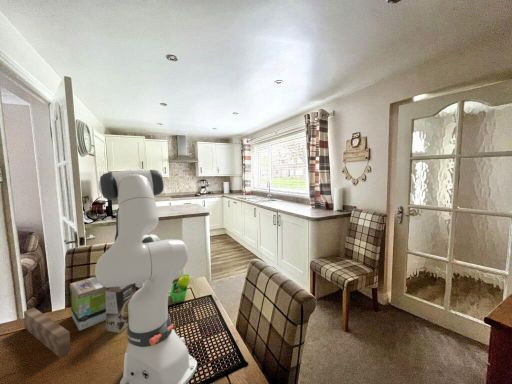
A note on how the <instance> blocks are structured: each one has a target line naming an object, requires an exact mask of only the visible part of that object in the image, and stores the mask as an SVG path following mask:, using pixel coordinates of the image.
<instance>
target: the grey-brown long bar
mask: <svg viewBox="0 0 512 384" xmlns="http://www.w3.org/2000/svg"><path fill="white" fill-rule="evenodd" d="M23 321H24V330H26V331H27V332H28V333H29V334H31V336H33V337H35V338H36V339H37V340H38V341H39V342H40V343H41V344H43V345H44V346H45V347H47V348H48V349H49V350H50V351H51V352H52V353H54V354H55V355H56V356H57V357H58V358H61V357H63V356H64V355H66V354H67V353H70V352H71V335H70V331H69V330H67V328H65V327H64V326H62V325H60V324H59V323H58V322H56V321H55V320H53V319H52V318H50V317H48V315H45V313H43V312H41V310H38V309H37V308H35V307H32V308H30V309H27V310H25V311H23Z"/></svg>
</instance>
